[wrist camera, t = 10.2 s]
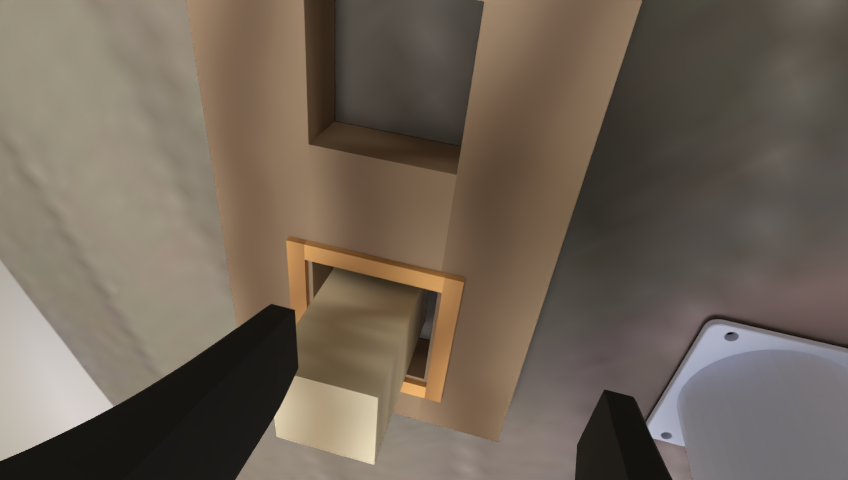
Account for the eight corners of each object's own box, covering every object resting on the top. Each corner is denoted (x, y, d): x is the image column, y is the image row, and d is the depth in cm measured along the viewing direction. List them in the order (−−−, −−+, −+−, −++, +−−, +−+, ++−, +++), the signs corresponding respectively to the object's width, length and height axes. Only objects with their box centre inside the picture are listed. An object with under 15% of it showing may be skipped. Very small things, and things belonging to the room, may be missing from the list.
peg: (431, 260, 23) (378, 397, 16) (424, 322, 25) (374, 464, 19) (350, 242, 23) (267, 368, 17) (350, 305, 26) (276, 436, 19)
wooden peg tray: (664, -114, 14) (683, -119, 11) (502, 402, 27) (496, 447, 24) (211, -166, 16) (150, -181, 13) (267, 339, 29) (241, 375, 26)
